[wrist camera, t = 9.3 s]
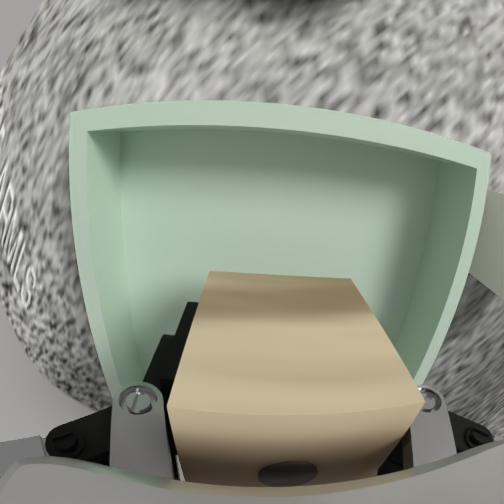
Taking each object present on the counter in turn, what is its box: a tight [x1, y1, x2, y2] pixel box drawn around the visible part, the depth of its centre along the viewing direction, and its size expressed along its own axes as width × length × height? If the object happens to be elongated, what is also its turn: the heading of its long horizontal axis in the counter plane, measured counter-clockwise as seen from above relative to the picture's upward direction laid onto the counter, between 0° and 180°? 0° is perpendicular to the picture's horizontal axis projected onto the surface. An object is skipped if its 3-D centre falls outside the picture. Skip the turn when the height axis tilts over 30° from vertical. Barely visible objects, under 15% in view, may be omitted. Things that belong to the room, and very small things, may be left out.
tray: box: [69, 100, 491, 400], centre depth 13 cm, size 16×16×4 cm
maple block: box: [167, 271, 425, 487], centre depth 8 cm, size 5×5×6 cm
